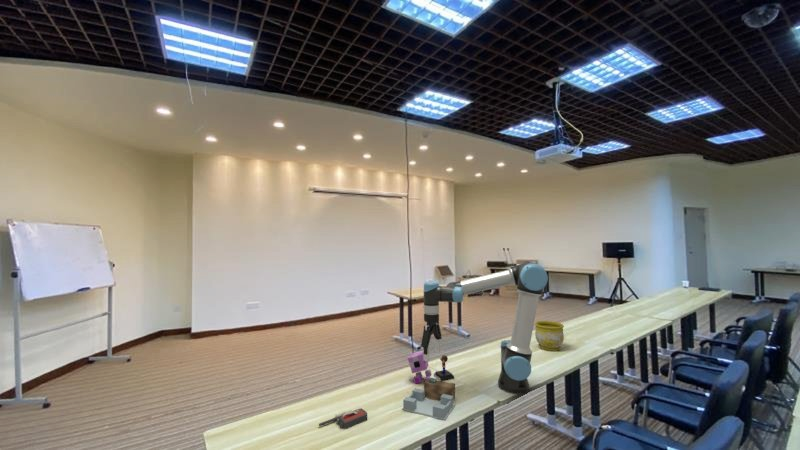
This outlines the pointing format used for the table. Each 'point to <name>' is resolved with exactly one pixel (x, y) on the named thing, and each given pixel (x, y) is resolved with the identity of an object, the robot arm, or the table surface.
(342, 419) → the chainsaw
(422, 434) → the table surface
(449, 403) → the jig
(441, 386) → the wooden block
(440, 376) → the figurine
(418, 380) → the toy
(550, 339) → the flowerpot
